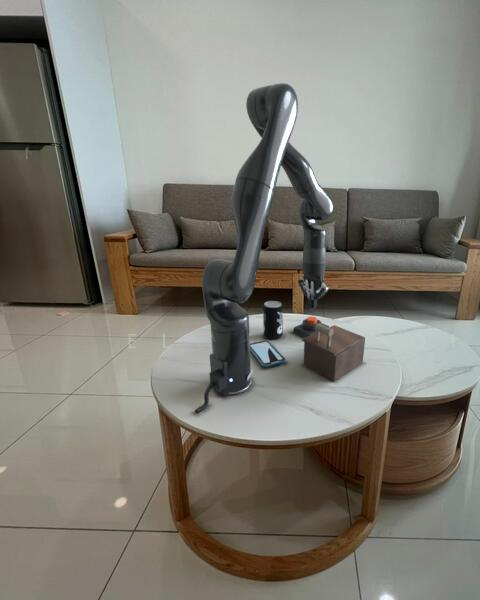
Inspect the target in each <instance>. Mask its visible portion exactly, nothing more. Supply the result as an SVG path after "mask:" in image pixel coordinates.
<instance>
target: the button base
mask: <svg viewBox="0 0 480 600" xmlns="http://www.w3.org/2000/svg"><path fill="white" fill-rule="evenodd" d="M317 324H320V325H323V326H325V327H328V328H329V327H330V326H329V325H328V324H325V323H322V321H321V320H320V319H318V318H317ZM315 326H316V324H313V325H311V324H307V318H305V319H303V320H302V323H300V324H298V325H296V326H294V327H293V333H294V334H296V335H298V336H300V337H302V338H305V337H307V336H310V335H312V334H314V333H317V331H316V330H315Z"/></svg>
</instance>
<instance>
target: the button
mask: <svg viewBox="0 0 480 600" xmlns="http://www.w3.org/2000/svg"><path fill="white" fill-rule="evenodd" d="M306 319H307V324H311V325H313V324H317V319H318V318H317V317H316V316H307V317H306Z"/></svg>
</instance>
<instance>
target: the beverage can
mask: <svg viewBox="0 0 480 600" xmlns="http://www.w3.org/2000/svg"><path fill="white" fill-rule="evenodd" d="M263 304H264V306H262V307H263V308H262V319H263V320H262V321H263V323H262V324H263V337H265V339H267V340H278V339H280V338H282V336H283V335H284V333H283V332H284V331H283V330H284V329H283V328H284V325H283V323H284V308H283V306H282V302H281V301H277V300H269V301H268V300H267V301H266V302H264V303H263Z"/></svg>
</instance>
